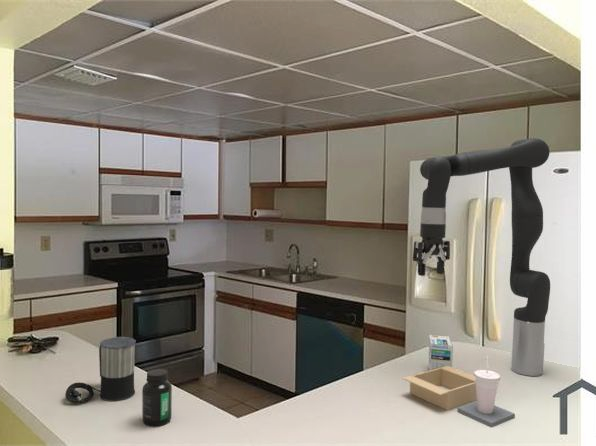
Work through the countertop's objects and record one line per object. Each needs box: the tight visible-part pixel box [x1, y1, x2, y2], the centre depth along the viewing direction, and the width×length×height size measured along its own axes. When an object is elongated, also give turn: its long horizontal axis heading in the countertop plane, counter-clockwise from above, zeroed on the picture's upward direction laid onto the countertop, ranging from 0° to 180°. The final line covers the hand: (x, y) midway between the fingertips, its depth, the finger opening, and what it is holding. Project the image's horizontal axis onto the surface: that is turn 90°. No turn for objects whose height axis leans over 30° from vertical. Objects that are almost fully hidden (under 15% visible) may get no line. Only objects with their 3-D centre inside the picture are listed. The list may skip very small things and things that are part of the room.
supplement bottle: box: [141, 368, 173, 428], centre depth 119 cm, size 7×7×12 cm
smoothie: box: [473, 356, 501, 414], centre depth 127 cm, size 6×6×14 cm
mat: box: [456, 400, 516, 428], centre depth 127 cm, size 10×10×1 cm
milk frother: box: [64, 336, 137, 404], centre depth 132 cm, size 14×16×15 cm
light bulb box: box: [428, 334, 454, 371], centre depth 156 cm, size 11×7×11 cm, turn 168°
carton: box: [402, 366, 477, 411], centre depth 138 cm, size 20×13×5 cm
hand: (431, 274), depth 152 cm, fingers open, 8 cm apart
